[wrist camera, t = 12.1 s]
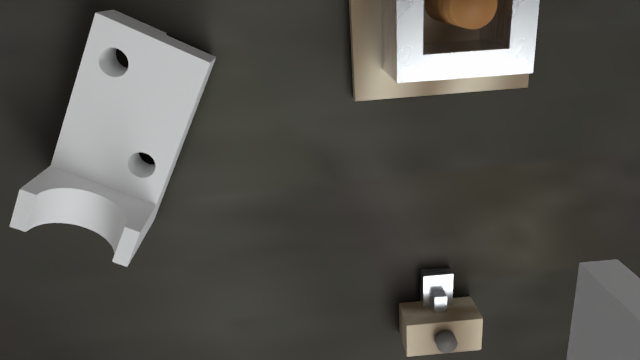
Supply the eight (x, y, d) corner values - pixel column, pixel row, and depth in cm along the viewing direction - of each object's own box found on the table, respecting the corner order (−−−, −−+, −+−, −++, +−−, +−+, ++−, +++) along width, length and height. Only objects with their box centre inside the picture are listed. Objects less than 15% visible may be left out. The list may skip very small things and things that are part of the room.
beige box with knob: (399, 332, 43) (409, 363, 40) (398, 303, 42) (408, 332, 39) (468, 326, 43) (484, 356, 40) (470, 296, 42) (486, 325, 39)
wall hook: (420, 310, 42) (425, 323, 41) (420, 269, 41) (426, 282, 39) (448, 307, 43) (455, 320, 41) (449, 267, 41) (456, 279, 39)
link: (382, 69, 34) (397, 83, 29) (380, -62, 31) (396, -70, 26) (499, 60, 34) (532, 73, 30) (508, -71, 31) (546, -80, 27)
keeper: (353, 98, 36) (367, 123, 29) (344, -94, 31) (359, -114, 25) (521, 84, 36) (572, 107, 29) (536, -108, 32) (600, -131, 25)
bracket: (157, 214, 38) (127, 267, 31) (62, 179, 37) (9, 226, 30) (218, 55, 34) (199, 74, 27) (114, 9, 33) (67, 16, 26)
